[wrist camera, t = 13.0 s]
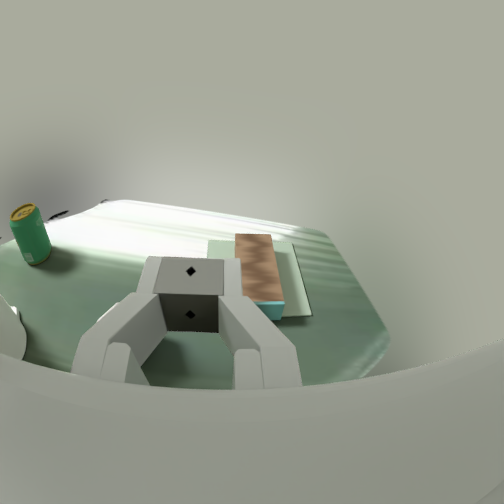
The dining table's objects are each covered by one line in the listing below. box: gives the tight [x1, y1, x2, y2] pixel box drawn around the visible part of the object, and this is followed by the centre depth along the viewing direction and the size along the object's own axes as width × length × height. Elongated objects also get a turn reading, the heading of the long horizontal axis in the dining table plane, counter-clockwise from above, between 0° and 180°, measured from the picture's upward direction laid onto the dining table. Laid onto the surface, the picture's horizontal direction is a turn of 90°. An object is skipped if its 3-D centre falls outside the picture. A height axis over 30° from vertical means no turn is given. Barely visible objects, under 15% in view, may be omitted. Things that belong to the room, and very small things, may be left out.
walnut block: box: [235, 234, 285, 320], centre depth 50 cm, size 7×4×18 cm
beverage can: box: [10, 203, 51, 265], centre depth 47 cm, size 8×8×12 cm
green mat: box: [207, 240, 311, 317], centre depth 53 cm, size 18×20×1 cm
